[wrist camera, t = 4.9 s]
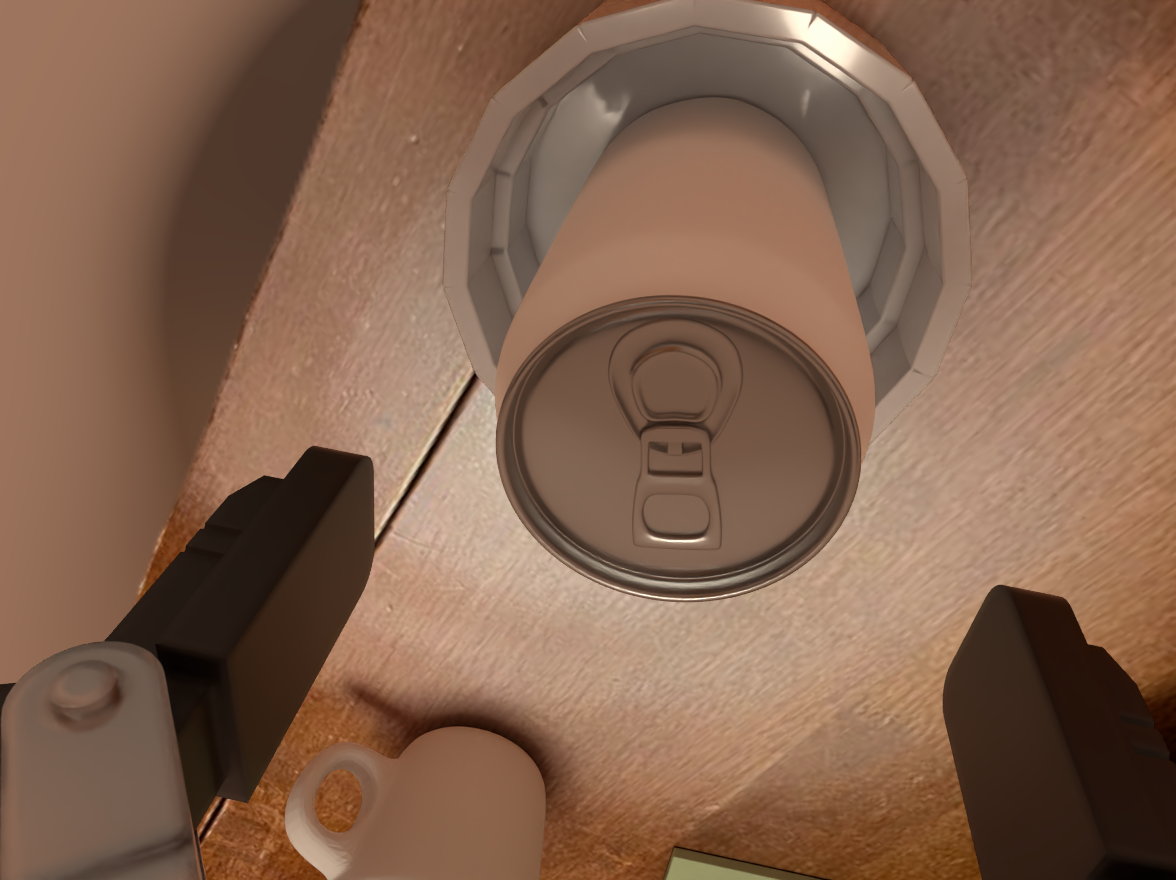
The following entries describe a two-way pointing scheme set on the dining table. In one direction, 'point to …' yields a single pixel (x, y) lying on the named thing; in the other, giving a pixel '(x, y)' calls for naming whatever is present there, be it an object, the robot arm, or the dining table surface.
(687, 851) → the mat
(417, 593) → the dining table surface
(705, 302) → the can
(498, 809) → the cup
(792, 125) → the white round dish
